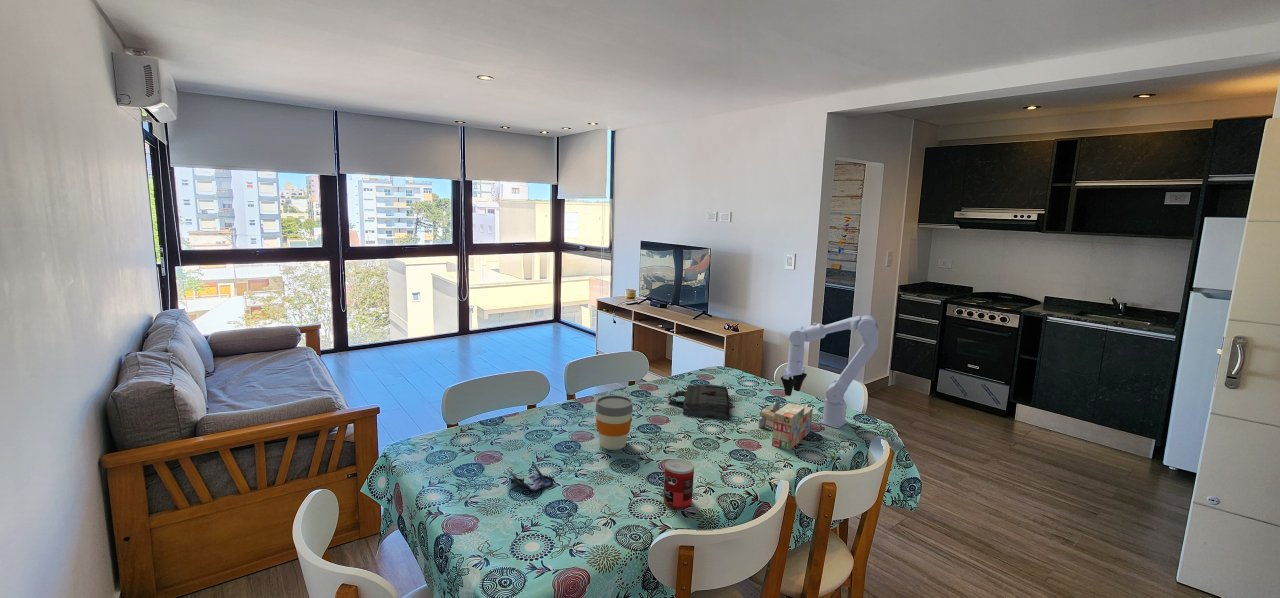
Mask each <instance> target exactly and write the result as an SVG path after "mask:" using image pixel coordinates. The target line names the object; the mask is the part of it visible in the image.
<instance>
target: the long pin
mask: <svg viewBox="0 0 1280 598" xmlns="http://www.w3.org/2000/svg"><path fill="white" fill-rule="evenodd" d="M772 405H773V413H775V412H777V411H779V409H780V408H781V402H779V401H774V402H773V404H772Z"/></svg>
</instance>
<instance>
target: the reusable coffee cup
mask: <svg viewBox="0 0 1280 598" xmlns="http://www.w3.org/2000/svg"><path fill="white" fill-rule="evenodd" d="M596 399H597V400H596V402H595V408H594V410H595V412H596V416H595V423H596V431H597V432H598V441H599V445H600V447H601V448H603V449H605V450H612V451H613V450H614V451H615V450H621V449H624V448H625V447H626V446H627V441H628V435H629V433H630V430H631V426H632V419H633V418H632V417H633V416H632V413H633V411H634V410H633V409H634V408H633V400H632V399H631V398H629V397H627V396H623V395H615V394H614V395H612V394H611V395H605V396H600V397H598V398H596Z"/></svg>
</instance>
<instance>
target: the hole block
mask: <svg viewBox="0 0 1280 598" xmlns="http://www.w3.org/2000/svg"><path fill="white" fill-rule="evenodd" d="M781 408H782V407H780V409H781ZM780 409H779V410H780ZM760 416H764V417H766V426H765V427H769V428H772V429H773V425H774V416H775V413H773V404H772V405H770V406H768V407H767V408H764V409H762V410H760V411H759V417H758V418H760Z"/></svg>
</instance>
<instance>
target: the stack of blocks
mask: <svg viewBox="0 0 1280 598" xmlns="http://www.w3.org/2000/svg"><path fill="white" fill-rule="evenodd" d="M780 408H781V409H780V410H779V411H777V412H775V416H774V425H773V428H772V429H773V430H772V439H771V446H773V447H776V448H779V449H782V450H785V451H788V452H789V451H790V450H791V449H792V448H794V447H795V446H796V445H797V444H799V442H800V441H802V440H803V439H804V438H805V437H806V436H807V435H808V434H810V433H811V432H812V422H813V409H814V408H813V407H809V406H805V405H801V404H798V403H797V404H793V403H789V402H788V403H787V404H785V405H784V406H783V407H780Z"/></svg>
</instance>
